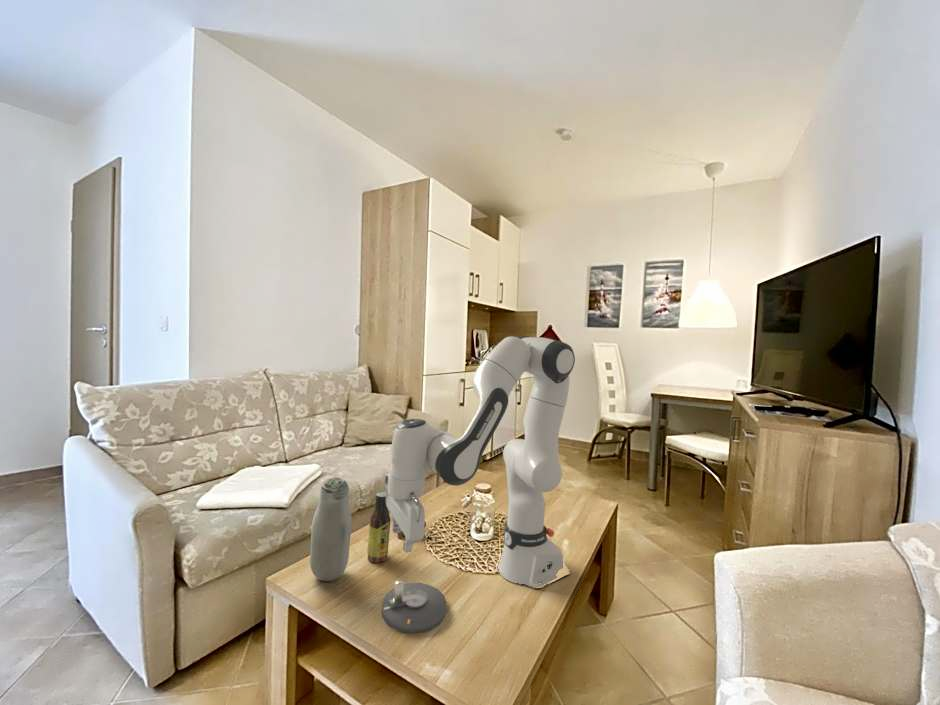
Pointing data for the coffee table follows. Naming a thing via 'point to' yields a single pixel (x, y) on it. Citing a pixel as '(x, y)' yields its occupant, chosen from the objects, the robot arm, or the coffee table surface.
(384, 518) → the sauce bottle
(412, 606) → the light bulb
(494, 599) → the coffee table surface
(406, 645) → the coffee table surface
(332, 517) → the grey bottle
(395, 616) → the dial plate
